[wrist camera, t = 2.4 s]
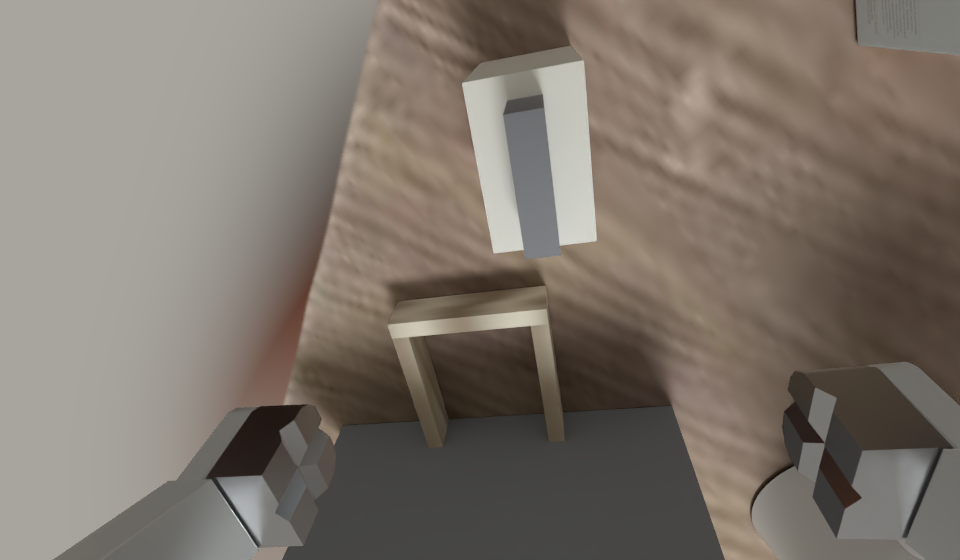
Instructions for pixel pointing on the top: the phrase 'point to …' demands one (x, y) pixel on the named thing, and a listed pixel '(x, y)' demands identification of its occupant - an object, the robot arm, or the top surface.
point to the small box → (910, 25)
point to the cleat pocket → (466, 316)
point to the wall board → (515, 492)
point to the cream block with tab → (533, 150)
